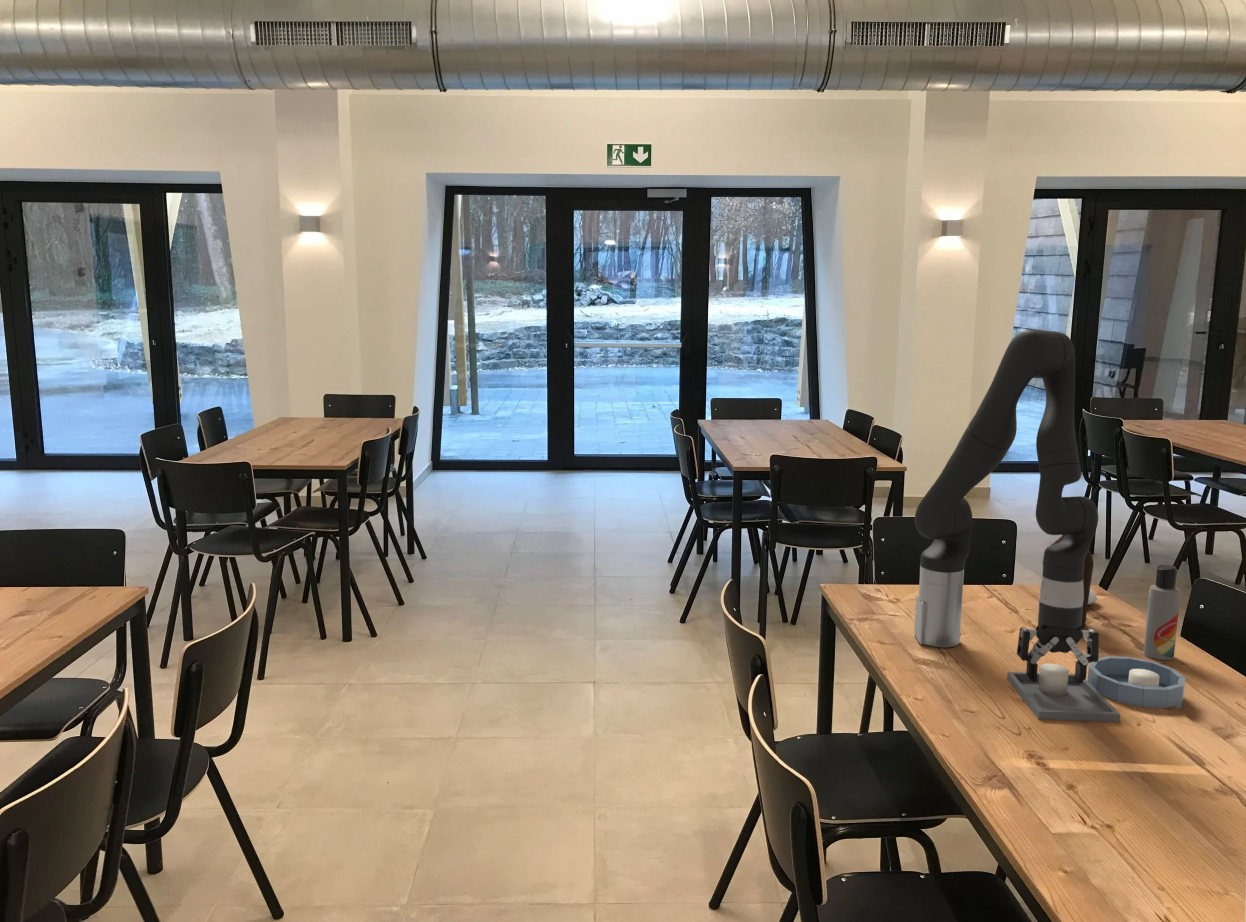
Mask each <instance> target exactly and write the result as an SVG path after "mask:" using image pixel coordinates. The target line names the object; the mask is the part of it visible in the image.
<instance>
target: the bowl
mask: <svg viewBox="0 0 1246 922" xmlns="http://www.w3.org/2000/svg"><path fill="white" fill-rule="evenodd" d="M1132 669H1145V670H1149V671H1152V672H1155V673H1157V674H1158V675H1159V676H1160V677H1159V687H1141V686H1136V685H1132V684H1128V680H1129V671H1130V670H1132ZM1087 670H1088V671H1087V679H1086V680H1087V681H1088V682H1089V683H1090V684H1091V685H1092V686H1093V687H1094V688H1095V689H1096V690H1097V691H1098V692H1099V693H1100V694H1101V695H1102V696H1103V697H1104V698H1108V699H1110V700H1112V701H1115V702H1118V703H1122V704H1125V705H1130V706H1131V705H1132V706H1136V707H1140V708H1156V709H1157V708H1159V709H1161V708H1162V709H1163V708H1164V709H1168V708H1171V707H1175V708H1176V709H1177V710H1180V708H1181V709H1182V706H1183V702H1184V696H1185V685H1186V677H1185V676H1184V675H1182V674H1181V673H1180V672H1179V671H1177V670H1176V669H1175V668H1172V667H1169V666H1167V665H1165V664H1161V663H1159V662H1156V661H1153V660H1146V659H1142V658H1136V657H1131V656H1110V655H1107V656H1103V657H1099V659H1098V661H1097V662H1090V664H1088V668H1087Z"/></svg>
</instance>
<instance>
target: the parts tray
mask: <svg viewBox="0 0 1246 922" xmlns="http://www.w3.org/2000/svg"><path fill="white" fill-rule="evenodd" d="M1006 673H1007V674H1006V675H1007V677H1006V680H1007V681H1008V682H1009V684H1010V685H1011V686H1012V687H1013V689H1014V691H1016V693H1017V694H1018V695H1019V696H1020V698H1021V699H1022V700H1023V702H1024V703H1025V704H1026V705H1027V707H1028V708H1029V709H1030V711H1031V712H1032V713H1033V715H1034V716H1035V717H1036V719H1037V720H1046V721H1066V722H1067V721H1068V722H1069V721H1075V722H1098V723H1118V724H1119V723H1120V722H1121V714H1120V712H1119V711H1118V710H1117V709H1116V708H1115V707H1114V706H1113V705H1112V704H1111V703H1110V702H1109V701H1108V699H1106V697H1105V696H1103V695H1101V694H1100V693H1099V692H1098V691H1097V690H1096V689H1095V688H1094V687H1093V686H1092V685H1091V684H1090V683H1089V682H1088V681H1087V680H1088V679H1087V678H1086V679H1085V680H1083V683H1078V682H1077V681H1076V680H1075V673H1069V674H1068V686H1067V694H1066V695H1064V696H1052V695H1048V694H1045V693H1042V692H1041V691H1040V690H1039V689H1038V688H1039V675H1040V672H1037V681H1036V682H1032V681H1031V680H1030V679H1029V678H1028V676H1027V674H1026V671H1025V672H1023V671H1022V672H1021V671H1007V672H1006Z"/></svg>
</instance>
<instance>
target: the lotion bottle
mask: <svg viewBox="0 0 1246 922" xmlns="http://www.w3.org/2000/svg"><path fill="white" fill-rule="evenodd" d="M1176 567H1177V566H1175V565H1171V564H1160V565H1158V566H1156V572H1155V582H1154V584H1151V585H1150V586H1149V589H1148V590H1149V592H1148V599H1147V600H1148V601H1147V602H1148V603H1147V610H1146V612H1147V613H1146V620H1145V621H1146V622H1145V630H1144V631H1145V632H1144V644H1143V654H1144V655H1145V656H1146V657H1148V658H1151V659H1154V660H1159V661H1172V660H1173V659H1174V657H1175V651H1176V642H1177V640H1176V639H1177V631H1178V623H1179V622H1178V621H1179V613H1180V612H1179V610H1180V603H1181V589H1179V588H1178V587H1177V579H1178V569H1177V568H1176Z"/></svg>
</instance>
